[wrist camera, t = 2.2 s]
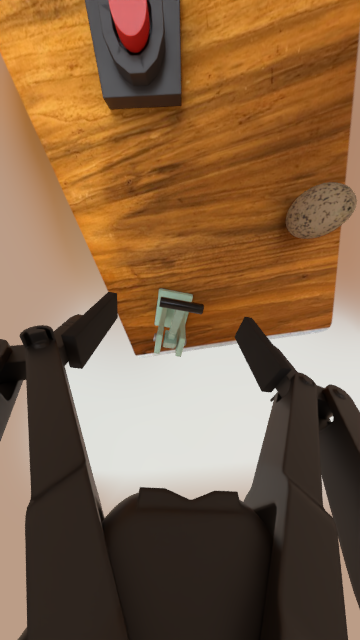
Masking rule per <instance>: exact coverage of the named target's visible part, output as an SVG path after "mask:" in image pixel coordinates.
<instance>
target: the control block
mask: <svg viewBox="0 0 360 640" xmlns="http://www.w3.org/2000/svg"><path fill="white" fill-rule="evenodd" d="M85 3H86V9H87V14H88V19H89V24H90V30H91V35H92V40H93V46H94V51H95V56H96V62H97V67H98V72H99V78H100V83H101V88H102V94H103V98H104V100H105V102H106V103H107V105H108V107H109V108H110V109H125V108H145V107H165V106H181V44H180V0H147V5H148V12H149V20H150V30H149V37H148V41H147V43H146V45H145V47H144V48H143V50H142V51H140V52H138V53H132V52H130V51H129V50H127V49H126V48H125V47H124V45H123V44H122V42H121V40H120V38H119V36H118V33H117V30H116V27H115V24H114V20H113V17H112V14H111V11H110V7H109V0H85Z"/></svg>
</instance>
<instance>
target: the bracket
mask: <svg viewBox="0 0 360 640" xmlns="http://www.w3.org/2000/svg"><path fill="white" fill-rule="evenodd" d="M161 297H167V298H172V299H177V300H183V301H188V302H192V298H193V294H188V293H183V292H178V291H172V290H167V289H162V288H160V289H159V294H158V302H157V309H156V317H155V325H158V326H159V327H158V331H157V334H154V340H153V341H156V343H155V350H154V353H158V354H159V353H160V348H161V342H162V337H163V330H164V327H170V326H171V322H172V319H173V315H174V312H175V310H174V309H169V308H163V307H159V304H160V299H161ZM188 313H189V312H185V313H184V315H183V318H182V320H181V323H180V325H179V328H178V330H177V332H178V333H177V341H176V356H180V357H181V354H182V350H183V347H184V346H185V345H186V334H185V324H186V320H187V317H188Z"/></svg>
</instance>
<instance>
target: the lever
mask: <svg viewBox="0 0 360 640" xmlns="http://www.w3.org/2000/svg"><path fill="white" fill-rule="evenodd" d="M159 307H163V308H169V309H174V310H175V312H174V315H173V319H172V322H171V326H170V330H169V331H168V330H166V331H165V336H164V342H163V347H166V348H173V349H174V347H175V345H176V341H177V333H178V332H177V330H178V328H179V325H180V323H181V320H182V318H183V315H184V313H185V312H191V313H197V314H202V313H203V309H204V305H203V304H199V303H194V302H188V301H183V300H177V299H172V298H167V297H161V299H160V304H159Z"/></svg>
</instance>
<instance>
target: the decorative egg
mask: <svg viewBox="0 0 360 640" xmlns="http://www.w3.org/2000/svg"><path fill="white" fill-rule="evenodd" d="M356 202H357V201H356V196H355V194H354V192H353V191H352V189H351V188H350V187H348V186H346V185H344V184H341V183H335V182H329V183H323V184H320V185H317V186H314V187H312V188H310V189H308V190H307V191H305V192H304V193H302V194H301V195H300V196H299V197H298V198H297V199H296V200H295V201H294V202H293V204H292V205H291V207H290V208H289V210H288V213H287V216H286V227H287V229H288V231H289V232H290V233H291V234H292V235H293V236H295V237H298V238H303V239H310V238H316V237H320V236H323V235H325V234H328V233H330V232H331V231H333V230H335V229H336V228H338V227H339V226H341V225H342V224H343V223H344V222H345V221H346V220H347V219H348V218H349V217H350V216H351V215H352V213H353V212H354V210H355V207H356Z"/></svg>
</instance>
